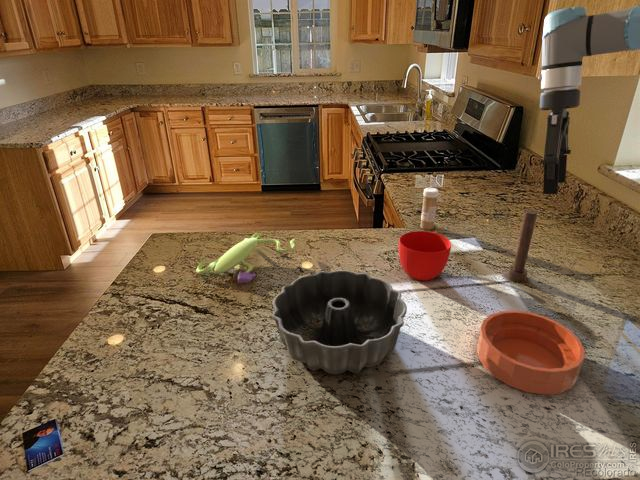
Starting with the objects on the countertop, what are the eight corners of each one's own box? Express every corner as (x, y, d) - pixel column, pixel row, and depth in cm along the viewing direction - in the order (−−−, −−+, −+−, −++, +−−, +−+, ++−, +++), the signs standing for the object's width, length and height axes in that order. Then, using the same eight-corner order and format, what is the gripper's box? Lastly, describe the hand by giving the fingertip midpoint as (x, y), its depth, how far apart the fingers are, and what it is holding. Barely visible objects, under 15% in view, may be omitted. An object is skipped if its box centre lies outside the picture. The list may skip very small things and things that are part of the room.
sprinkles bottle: (417, 226, 141) (421, 188, 135) (430, 225, 142) (434, 186, 136) (423, 232, 137) (428, 192, 131) (436, 230, 138) (441, 191, 132)
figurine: (305, 256, 122) (305, 238, 120) (234, 296, 104) (231, 276, 101) (261, 238, 133) (260, 222, 131) (189, 272, 114) (186, 254, 112)
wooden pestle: (526, 278, 110) (542, 210, 102) (524, 286, 107) (540, 216, 99) (508, 274, 112) (522, 207, 104) (505, 281, 109) (520, 213, 101)
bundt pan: (259, 383, 78) (255, 340, 73) (288, 302, 101) (286, 266, 97) (405, 398, 74) (410, 353, 70) (400, 310, 98) (404, 273, 94)
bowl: (577, 351, 85) (585, 327, 82) (573, 412, 71) (583, 385, 69) (486, 324, 93) (491, 301, 90) (467, 374, 80) (471, 349, 77)
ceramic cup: (455, 264, 117) (461, 231, 113) (438, 293, 104) (442, 258, 100) (411, 253, 123) (414, 222, 119) (388, 280, 110) (391, 245, 106)
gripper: (549, 91, 103) (545, 178, 109) (529, 92, 83) (526, 198, 89) (585, 87, 98) (579, 178, 104) (574, 88, 79) (567, 199, 85)
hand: (554, 188), depth 97 cm, fingers open, 13 cm apart
